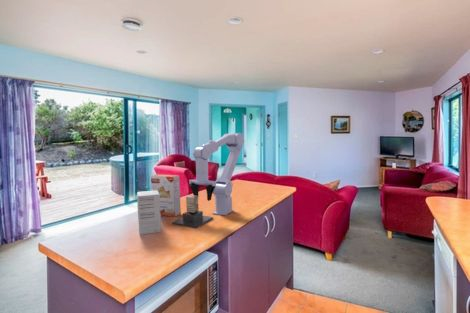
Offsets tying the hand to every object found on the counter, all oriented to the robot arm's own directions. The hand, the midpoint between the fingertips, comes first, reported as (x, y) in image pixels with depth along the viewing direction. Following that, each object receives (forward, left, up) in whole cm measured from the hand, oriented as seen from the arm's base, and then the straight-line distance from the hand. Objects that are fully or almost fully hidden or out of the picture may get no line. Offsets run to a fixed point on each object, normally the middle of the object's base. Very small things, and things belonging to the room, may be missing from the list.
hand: (202, 199), depth 129 cm
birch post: (+4, -3, -5) cm, 7 cm away
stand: (+4, -3, -10) cm, 11 cm away
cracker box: (0, -23, -10) cm, 25 cm away
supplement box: (+21, -14, -10) cm, 28 cm away
